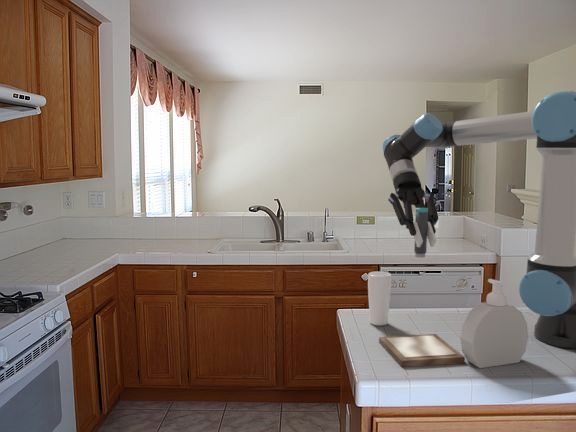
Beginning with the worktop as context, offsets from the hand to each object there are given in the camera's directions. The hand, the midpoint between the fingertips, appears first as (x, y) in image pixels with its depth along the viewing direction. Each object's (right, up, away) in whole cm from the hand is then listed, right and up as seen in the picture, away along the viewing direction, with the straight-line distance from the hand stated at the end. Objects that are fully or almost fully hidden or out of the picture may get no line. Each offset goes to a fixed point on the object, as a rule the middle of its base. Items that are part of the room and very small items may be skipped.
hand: (426, 244), depth 137 cm
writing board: (-4, -27, -7) cm, 28 cm away
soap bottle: (+13, -28, -12) cm, 33 cm away
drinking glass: (-10, -25, +16) cm, 31 cm away
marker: (-1, -4, +4) cm, 6 cm away
